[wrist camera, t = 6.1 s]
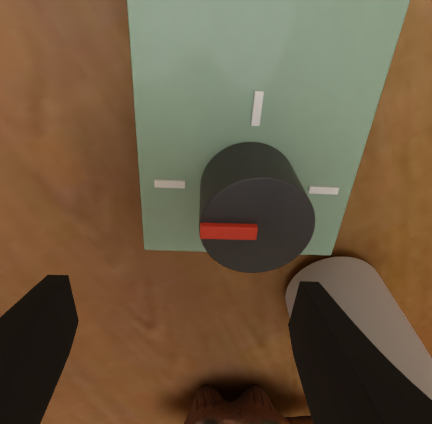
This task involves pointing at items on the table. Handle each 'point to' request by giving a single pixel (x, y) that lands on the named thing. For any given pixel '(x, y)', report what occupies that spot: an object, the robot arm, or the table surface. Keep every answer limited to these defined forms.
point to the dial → (253, 209)
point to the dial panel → (254, 98)
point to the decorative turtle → (237, 409)
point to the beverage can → (370, 313)
